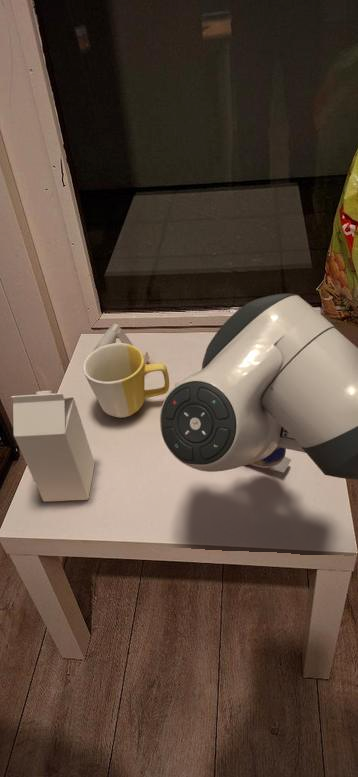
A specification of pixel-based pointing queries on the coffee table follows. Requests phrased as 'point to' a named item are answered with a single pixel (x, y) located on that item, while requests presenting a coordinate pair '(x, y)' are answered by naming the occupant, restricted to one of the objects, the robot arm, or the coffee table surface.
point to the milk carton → (53, 445)
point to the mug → (121, 378)
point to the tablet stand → (111, 337)
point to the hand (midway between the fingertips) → (266, 423)
